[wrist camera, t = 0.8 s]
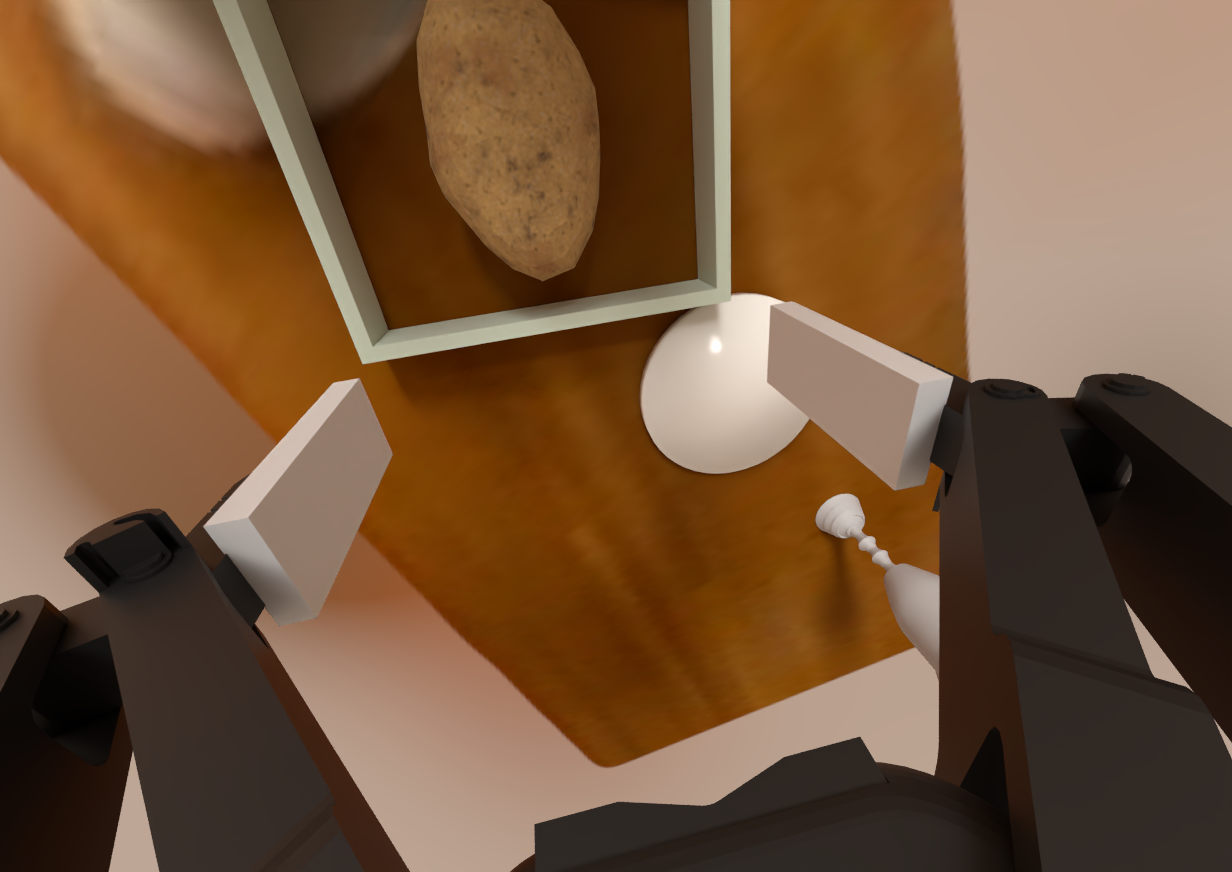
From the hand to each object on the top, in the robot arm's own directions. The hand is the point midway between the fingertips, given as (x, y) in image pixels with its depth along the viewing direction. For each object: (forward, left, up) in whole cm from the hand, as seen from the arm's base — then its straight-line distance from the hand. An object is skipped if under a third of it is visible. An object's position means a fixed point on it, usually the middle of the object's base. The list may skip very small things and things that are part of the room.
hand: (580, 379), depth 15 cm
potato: (-8, -1, -21) cm, 23 cm away
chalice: (+28, +25, -21) cm, 44 cm away
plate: (+11, +13, -21) cm, 27 cm away
